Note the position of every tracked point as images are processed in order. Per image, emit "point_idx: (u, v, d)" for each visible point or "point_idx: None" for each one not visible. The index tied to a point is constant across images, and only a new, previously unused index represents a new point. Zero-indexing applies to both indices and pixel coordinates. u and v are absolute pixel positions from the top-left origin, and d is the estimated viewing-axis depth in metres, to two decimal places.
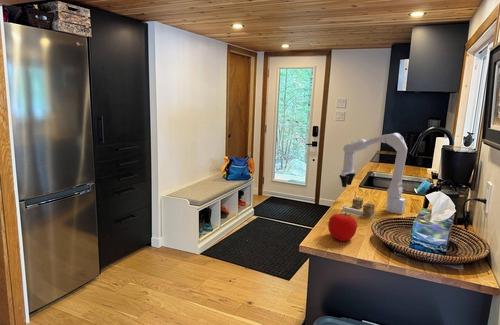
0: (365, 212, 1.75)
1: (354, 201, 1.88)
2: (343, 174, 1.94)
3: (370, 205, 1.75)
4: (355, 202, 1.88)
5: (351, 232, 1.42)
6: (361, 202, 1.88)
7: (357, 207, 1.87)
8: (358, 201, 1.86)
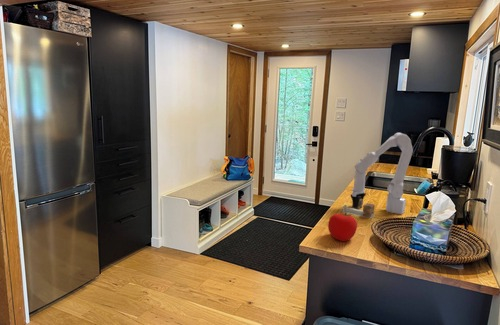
0: (365, 212, 1.75)
1: None
2: (354, 194, 1.83)
3: (370, 205, 1.75)
4: None
5: (351, 232, 1.42)
6: (361, 202, 1.88)
7: (357, 207, 1.87)
8: None
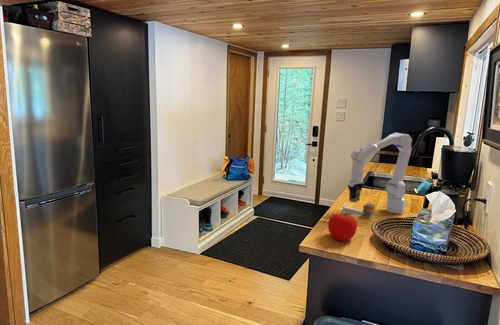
0: (365, 212, 1.75)
1: None
2: (351, 184, 1.73)
3: (370, 205, 1.75)
4: None
5: (351, 232, 1.42)
6: (358, 193, 1.78)
7: None
8: None
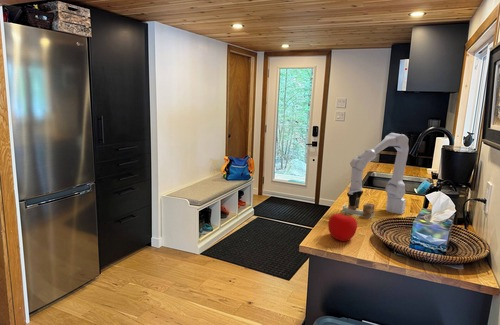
0: (365, 212, 1.75)
1: None
2: (351, 192, 1.74)
3: (370, 205, 1.75)
4: None
5: (351, 232, 1.42)
6: (358, 201, 1.79)
7: (353, 206, 1.79)
8: None
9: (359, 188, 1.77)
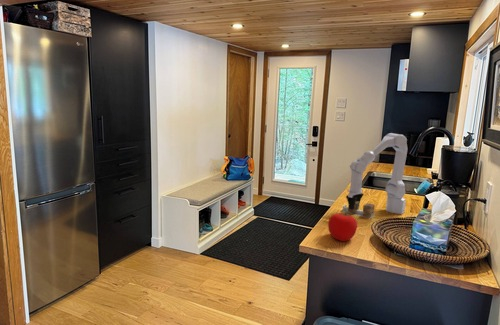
0: (365, 212, 1.75)
1: None
2: (350, 195, 1.74)
3: (370, 205, 1.75)
4: None
5: (351, 232, 1.42)
6: (357, 205, 1.79)
7: (353, 210, 1.79)
8: None
9: (359, 191, 1.77)
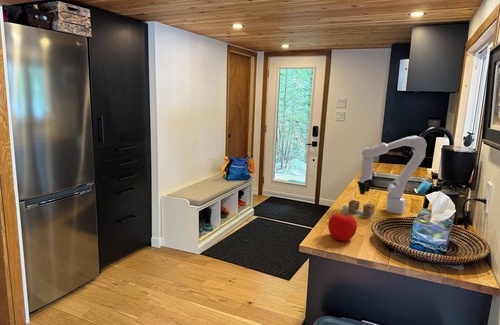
0: (365, 212, 1.75)
1: (350, 204, 1.80)
2: (362, 181, 1.80)
3: (370, 205, 1.75)
4: (351, 205, 1.79)
5: (351, 232, 1.42)
6: (357, 205, 1.79)
7: (353, 210, 1.79)
8: (354, 204, 1.78)
9: (369, 176, 1.83)
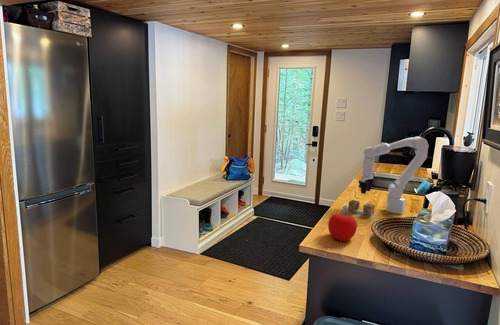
0: (365, 212, 1.75)
1: (350, 204, 1.80)
2: (363, 180, 1.82)
3: (370, 205, 1.75)
4: (351, 205, 1.79)
5: (351, 232, 1.42)
6: (357, 205, 1.79)
7: (353, 210, 1.79)
8: (354, 204, 1.78)
9: (371, 176, 1.85)
